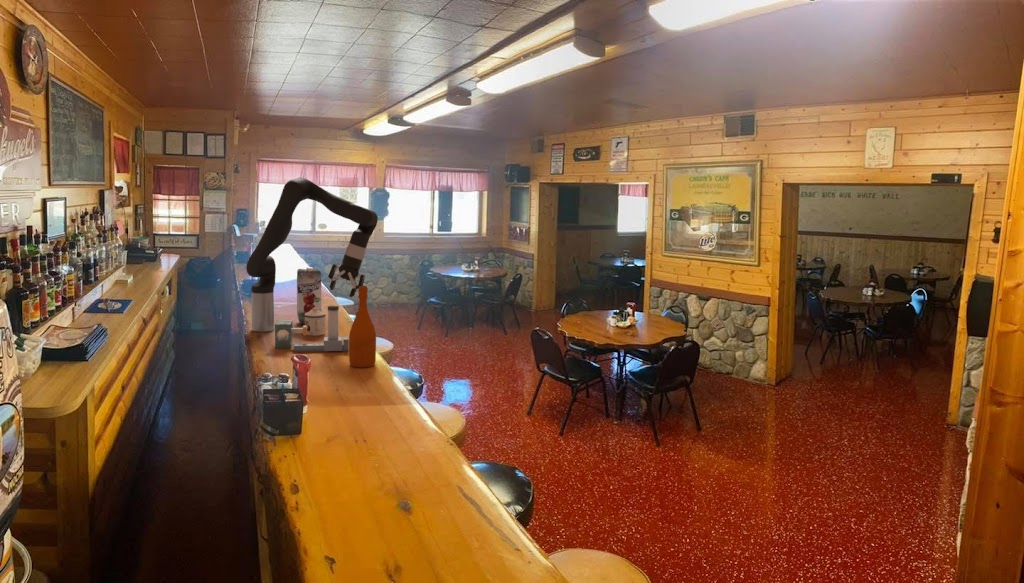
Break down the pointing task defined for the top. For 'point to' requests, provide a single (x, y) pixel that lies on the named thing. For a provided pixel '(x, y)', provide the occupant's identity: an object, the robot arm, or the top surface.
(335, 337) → the post
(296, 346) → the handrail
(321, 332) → the teacup with lid
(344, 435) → the top surface
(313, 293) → the juice carton
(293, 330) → the plunger
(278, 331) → the gauge cabinet
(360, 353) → the wine bottle
